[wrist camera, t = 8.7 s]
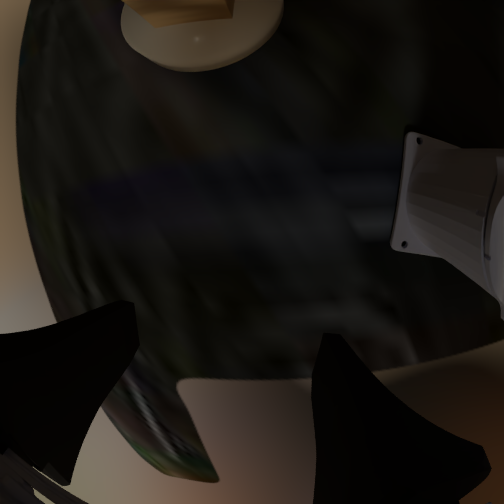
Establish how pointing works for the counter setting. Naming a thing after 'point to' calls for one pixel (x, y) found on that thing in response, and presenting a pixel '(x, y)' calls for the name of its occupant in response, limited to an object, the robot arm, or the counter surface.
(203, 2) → the oak cube
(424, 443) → the robot arm
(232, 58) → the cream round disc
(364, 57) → the counter surface
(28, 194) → the counter surface
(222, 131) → the counter surface
